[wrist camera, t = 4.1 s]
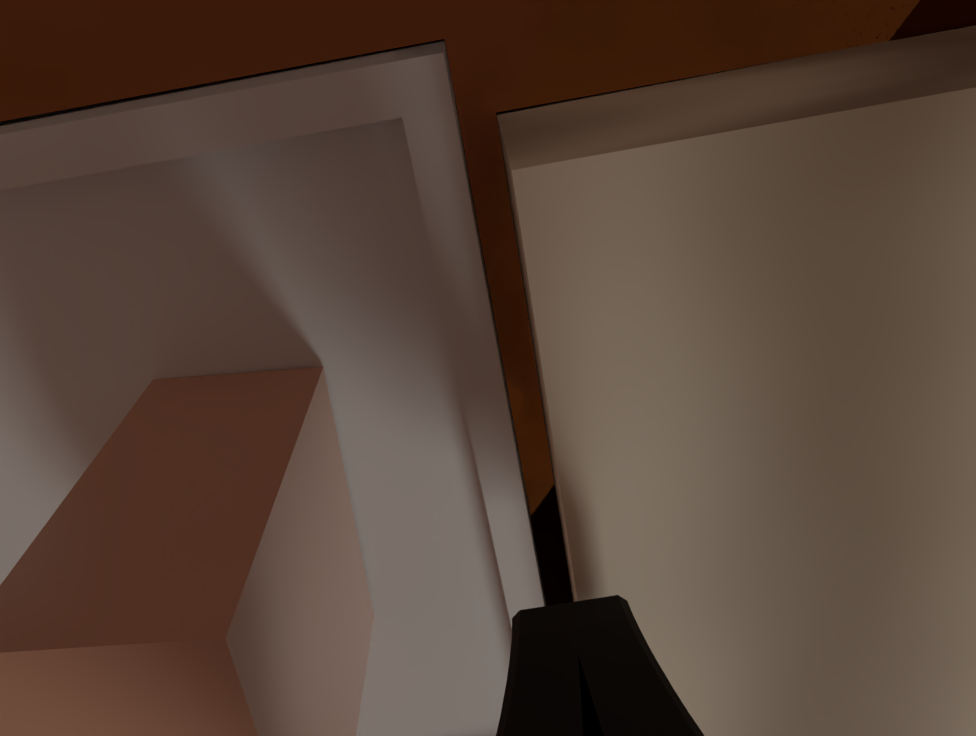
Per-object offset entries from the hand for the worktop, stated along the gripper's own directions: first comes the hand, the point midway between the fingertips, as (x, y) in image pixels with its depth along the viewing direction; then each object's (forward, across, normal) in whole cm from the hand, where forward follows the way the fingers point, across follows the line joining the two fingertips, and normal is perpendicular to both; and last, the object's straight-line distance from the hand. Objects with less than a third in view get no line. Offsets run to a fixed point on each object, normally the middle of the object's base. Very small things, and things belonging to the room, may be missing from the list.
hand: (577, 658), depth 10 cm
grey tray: (+4, +6, 0) cm, 7 cm away
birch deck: (+4, -4, 0) cm, 6 cm away
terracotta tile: (+1, +3, -1) cm, 3 cm away
